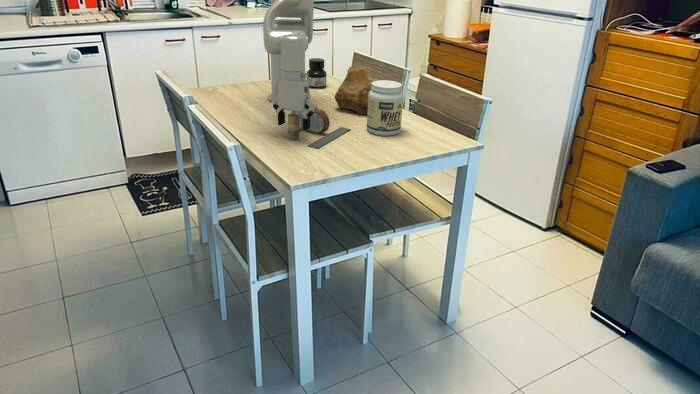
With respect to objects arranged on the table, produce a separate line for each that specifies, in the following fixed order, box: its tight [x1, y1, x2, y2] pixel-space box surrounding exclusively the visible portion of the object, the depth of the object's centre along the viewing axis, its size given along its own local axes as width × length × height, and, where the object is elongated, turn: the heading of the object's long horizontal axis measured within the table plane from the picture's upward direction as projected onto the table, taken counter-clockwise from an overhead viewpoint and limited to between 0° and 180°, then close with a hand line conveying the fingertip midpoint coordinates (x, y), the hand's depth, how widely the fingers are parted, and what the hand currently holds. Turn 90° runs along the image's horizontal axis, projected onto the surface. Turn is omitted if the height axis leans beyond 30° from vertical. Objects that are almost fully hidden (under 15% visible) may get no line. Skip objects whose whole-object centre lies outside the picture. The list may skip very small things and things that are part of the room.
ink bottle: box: [306, 57, 328, 90], centre depth 237 cm, size 10×9×12 cm
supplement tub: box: [366, 79, 404, 137], centre depth 185 cm, size 12×12×17 cm
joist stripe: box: [307, 126, 352, 150], centre depth 180 cm, size 22×4×1 cm, turn 152°
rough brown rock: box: [334, 66, 381, 116], centre depth 208 cm, size 23×17×15 cm
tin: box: [291, 107, 331, 135], centre depth 184 cm, size 15×3×8 cm, turn 55°
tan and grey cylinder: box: [287, 113, 300, 141], centre depth 177 cm, size 4×4×8 cm
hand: (293, 126), depth 176 cm, fingers open, 9 cm apart
